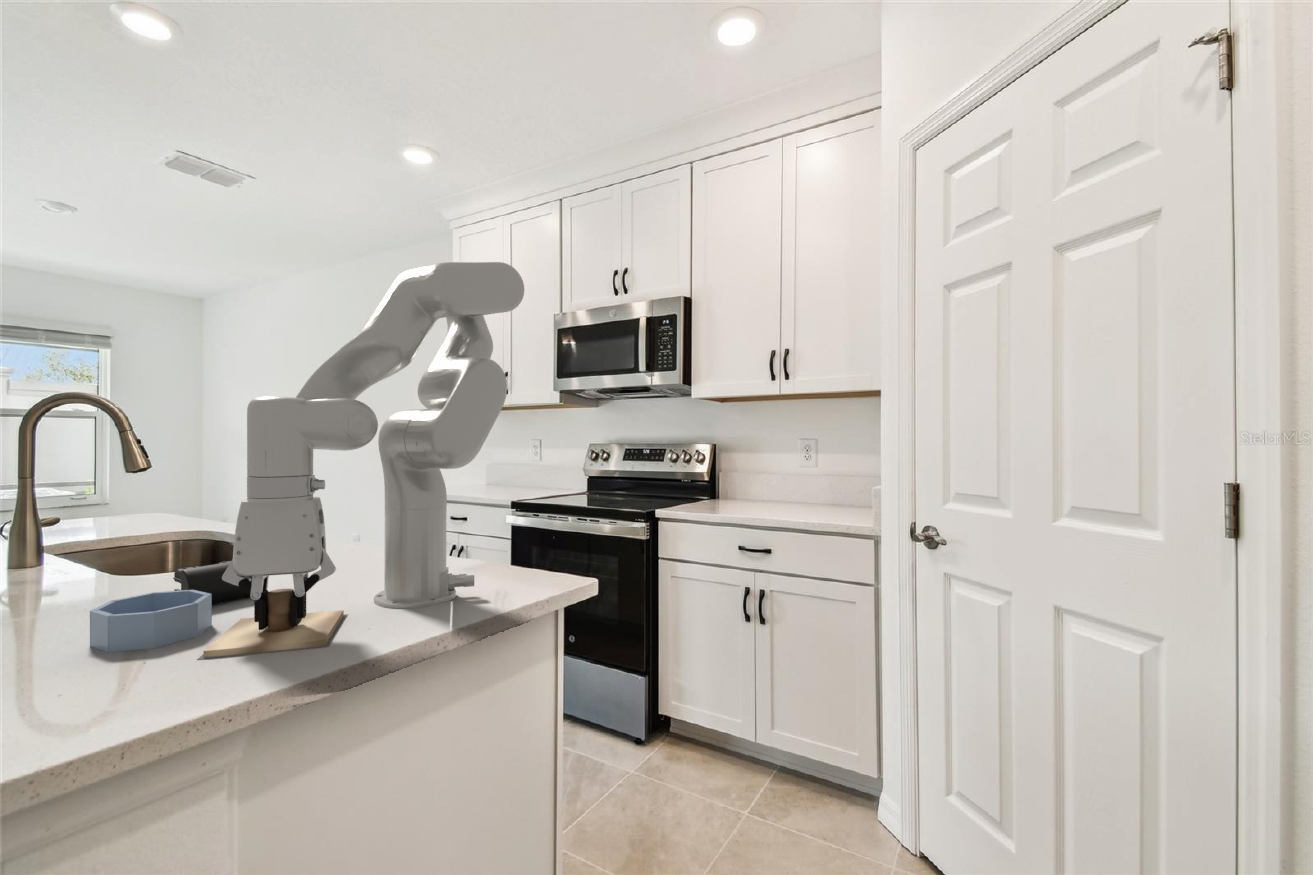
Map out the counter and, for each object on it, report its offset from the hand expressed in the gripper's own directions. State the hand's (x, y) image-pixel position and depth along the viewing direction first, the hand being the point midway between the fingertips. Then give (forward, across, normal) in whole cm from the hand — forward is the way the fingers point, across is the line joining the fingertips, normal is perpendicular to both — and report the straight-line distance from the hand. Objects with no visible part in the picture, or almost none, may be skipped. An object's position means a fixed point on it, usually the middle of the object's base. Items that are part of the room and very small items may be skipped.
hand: (280, 624), depth 79 cm
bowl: (+2, +16, -5) cm, 17 cm away
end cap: (+2, +14, -21) cm, 25 cm away
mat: (+2, 0, 0) cm, 2 cm away
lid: (+1, 0, 0) cm, 1 cm away
